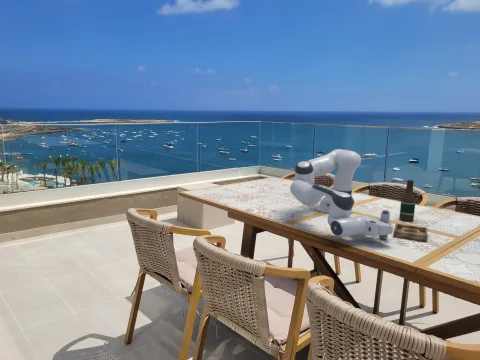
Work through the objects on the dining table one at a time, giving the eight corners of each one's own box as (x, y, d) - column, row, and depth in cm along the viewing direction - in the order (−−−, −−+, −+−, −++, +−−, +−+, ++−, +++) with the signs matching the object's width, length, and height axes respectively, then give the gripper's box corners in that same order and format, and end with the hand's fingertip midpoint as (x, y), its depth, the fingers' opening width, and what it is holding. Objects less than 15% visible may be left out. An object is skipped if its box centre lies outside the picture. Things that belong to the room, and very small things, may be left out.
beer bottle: (412, 219, 216) (416, 179, 212) (414, 222, 208) (419, 181, 204) (398, 217, 218) (402, 178, 214) (400, 221, 210) (404, 180, 206)
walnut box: (393, 237, 182) (393, 230, 181) (395, 229, 195) (395, 223, 194) (426, 242, 175) (427, 235, 175) (426, 233, 189) (427, 227, 188)
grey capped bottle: (378, 237, 178) (380, 211, 176) (379, 234, 181) (381, 209, 179) (387, 238, 176) (389, 212, 174) (387, 236, 180) (390, 210, 177)
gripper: (348, 225, 183) (370, 223, 188) (377, 238, 164) (401, 235, 169) (349, 213, 182) (371, 211, 187) (378, 224, 163) (402, 222, 168)
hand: (385, 222), depth 178 cm, fingers closed on grey capped bottle, 4 cm apart
